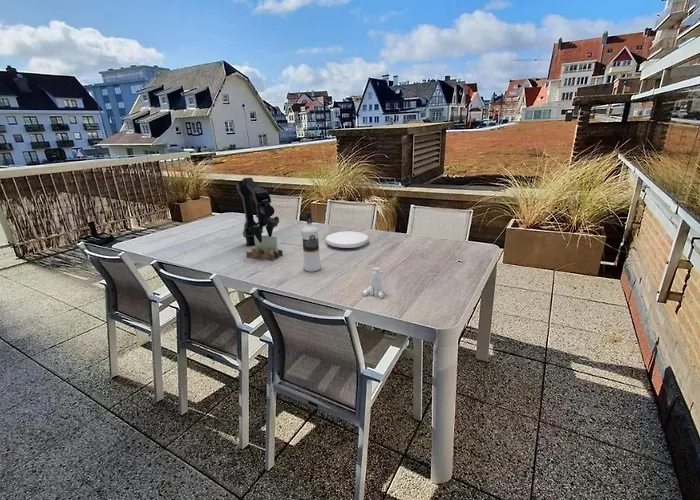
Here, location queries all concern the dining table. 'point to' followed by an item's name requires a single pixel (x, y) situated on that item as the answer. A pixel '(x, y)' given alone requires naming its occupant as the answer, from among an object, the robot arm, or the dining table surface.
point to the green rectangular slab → (267, 243)
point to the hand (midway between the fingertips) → (265, 240)
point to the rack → (265, 255)
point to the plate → (347, 239)
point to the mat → (291, 244)
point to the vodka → (310, 246)
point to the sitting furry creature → (374, 284)
